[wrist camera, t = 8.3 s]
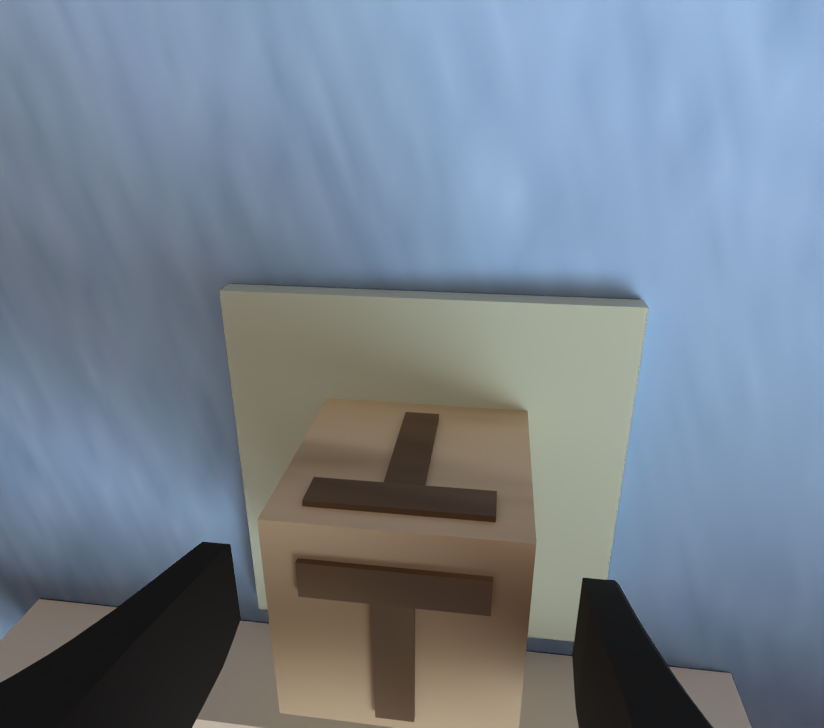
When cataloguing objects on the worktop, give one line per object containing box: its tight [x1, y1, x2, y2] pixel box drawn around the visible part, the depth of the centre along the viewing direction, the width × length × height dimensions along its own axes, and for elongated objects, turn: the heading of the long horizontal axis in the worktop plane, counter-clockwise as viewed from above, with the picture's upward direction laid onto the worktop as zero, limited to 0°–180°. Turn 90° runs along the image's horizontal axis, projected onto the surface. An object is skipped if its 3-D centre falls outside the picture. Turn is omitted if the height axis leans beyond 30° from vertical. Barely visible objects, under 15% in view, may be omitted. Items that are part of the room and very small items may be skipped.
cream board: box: [0, 599, 752, 728], centre depth 19 cm, size 2×22×4 cm, turn 90°
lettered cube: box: [257, 399, 536, 728], centre depth 14 cm, size 5×5×5 cm
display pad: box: [219, 284, 649, 642], centre depth 17 cm, size 10×10×1 cm
